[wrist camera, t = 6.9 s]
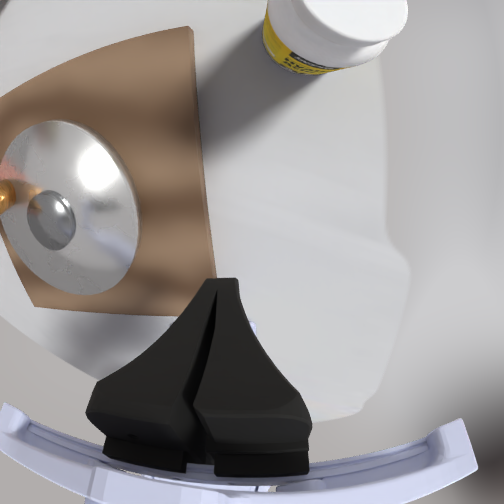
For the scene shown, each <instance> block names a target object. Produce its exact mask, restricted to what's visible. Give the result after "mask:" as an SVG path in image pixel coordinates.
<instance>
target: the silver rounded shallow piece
mask: <svg viewBox="0 0 504 504" xmlns="http://www.w3.org/2000/svg"><path fill="white" fill-rule="evenodd" d="M0 218H1V221H2V225H3V228H4V230H5V233H6V235H7V237H8V239H9V241H10V243H11V245H12V247H13V248H14V250H15V251H16V253H17V254H18V256H19V257H20V258H21V260H22V261H23V262H24V263H25V264H26V266H27V267H28V268H29V269H30V270H31V271H32V272H33V273H34V274H36V275H37V276H38V277H39V278H41V279H42V280H43V281H45V282H46V283H48V284H50V285H51V286H53V287H55V288H57V289H60V290H62V291H65V292H68V293H72V294H78V295H93V294H99V293H101V292H104V291H107V290H109V289H110V288H112V287H114V286H115V285H116V284H117V283H118V282H120V280H121V279H122V278H123V277H124V276H125V274H126V272H127V271H128V269H129V267H130V266H131V264H132V262H133V261H134V259H135V257H136V254H137V252H138V249H139V246H140V242H141V236H142V211H141V204H140V199H139V195H138V192H137V188H136V185H135V183H134V180H133V178H132V175H131V173H130V171H129V169H128V167H127V165H126V163H125V162H124V160H123V159H122V157H121V156H120V154H119V153H118V152H117V150H116V149H115V148H114V147H113V146H112V145H111V143H110V142H109V141H108V140H107V139H105V138H104V137H103V136H102V135H101V134H100V133H98V132H97V131H95V130H94V129H92V128H91V127H89V126H87V125H85V124H83V123H80V122H77V121H73V120H67V119H55V120H49V121H46V122H42V123H39V124H36V125H33V126H31V127H29V128H27V129H25V130H24V131H23V132H21V133H20V134H19V135H18V136H17V137H16V138H15V139H14V140H13V141H12V142H11V144H10V145H9V147H8V149H7V150H6V152H5V154H4V157H3V159H2V162H1V165H0Z"/></svg>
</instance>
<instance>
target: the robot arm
mask: <svg viewBox="0 0 504 504" xmlns="http://www.w3.org/2000/svg"><path fill="white" fill-rule="evenodd" d="M85 413H86V416H87V418H88V419H89V420H90V422H91V423H92V424H94V425H95V426H96V427H97V428H98V429H99V430H100V431H101V432H102V433H104V434H105V435H106V440H105V443H104V446H101V445H97V444H94V443H91V442H87V441H84V440H81V439H78V438H76V437H73V436H70V435H67V434H64V433H61V432H59V431H57V430H54V429H52V428H49V427H47V426H44V425H42V424H40V423H38V422H36V421H33V420H31V419H30V418H29V417H28V416H27V415H26V414H25V413H24V412H22V411H21V410H20V409H18V408H16V407H14V406H12V405H10V404H8V403H6V402H4V404H3V407H2V409H1V411H0V451H2V452H3V453H4V454H6V455H7V456H9V457H11V458H12V459H14V460H15V461H17V462H18V463H20V464H21V465H23V466H25V467H26V468H28V469H30V470H31V471H33V472H35V473H36V474H38V475H40V476H42V477H44V478H46V479H48V480H50V481H52V482H54V483H56V484H57V485H59V486H62V487H64V488H66V489H68V490H70V491H72V492H75V493H77V494H79V495H82V496H84V497H86V498H85V503H84V504H405V503H408V502H411V501H413V500H416V499H418V498H421V497H423V496H425V495H428V494H430V493H433V492H435V491H437V490H440V489H441V488H444V487H446V486H448V485H450V484H452V483H454V482H456V481H458V480H460V479H462V478H464V477H466V476H467V475H469V474H471V473H473V472H475V471H476V470H477V469H478V466H477V463H476V459H475V456H474V452H473V449H472V446H471V443H470V440H469V437H468V434H467V431H466V428H465V426H464V423H463V420H462V419H461V418H459V419H457V420H454V421H452V422H450V423H447V424H445V425H442V426H440V427H438V428H436V429H434V430H432V431H431V432H430V433H429V434H428V435H427V436H426V437H424V438H422V439H419V440H416V441H412V442H409V443H406V444H403V445H400V446H396V447H392V448H389V449H385V450H381V451H377V452H373V453H368V454H364V455H359V456H354V457H349V458H343V459H337V460H331V461H324V462H316V463H309V458H308V451H309V445H308V438H309V435H310V433H311V430H312V421H311V417H310V414H309V412H308V409H307V407H306V405H305V403H304V401H303V399H302V397H301V395H300V393H299V392H298V391H297V390H296V389H295V388H294V387H293V386H292V385H291V384H290V382H289V381H288V380H287V379H286V378H285V377H284V376H283V375H282V373H281V372H280V371H279V370H278V369H277V367H276V366H275V365H274V363H273V362H272V360H271V359H270V358H269V356H268V355H267V354H266V352H265V351H264V349H263V347H262V346H261V344H260V342H259V341H258V339H257V337H256V325H255V323H253V322H249V321H248V319H247V316H246V314H245V311H244V308H243V306H242V303H241V299H240V294H239V283H238V279H236V278H207V279H206V280H205V281H204V282H203V284H202V285H201V287H200V288H199V290H198V291H197V293H196V294H195V296H194V297H193V299H192V300H191V301H190V303H189V304H188V305H187V307H186V308H185V310H184V311H183V312H182V313H181V315H180V316H179V317H178V318H177V319H176V321H175V322H174V323H173V324H172V325H171V326H170V328H169V329H168V330H167V331H166V332H165V333H164V334H163V335H162V336H161V337H160V338H159V339H158V340H157V341H156V342H155V343H153V344H152V345H151V346H150V347H149V348H148V349H147V350H145V351H144V352H143V353H142V354H141V355H139V356H138V357H137V358H135V359H134V360H133V361H131V362H130V363H128V364H127V365H125V366H124V367H122V368H121V369H119V370H118V371H116V372H114V373H112V374H111V375H109V376H107V377H105V378H104V379H102V380H100V381H98V382H97V383H96V385H95V388H94V390H93V392H92V395H91V398H90V401H89V404H88V406H87V409H86V412H85ZM118 468H119V469H118ZM120 469H123V470H126V471H131V472H135V473H139V474H141V475H142V476H138V475H134V474H130V473H126V472H125V471H123V470H120ZM273 485H280V486H277V487H276V492H268V489H269V488H270V486H273Z"/></svg>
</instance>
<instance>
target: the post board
mask: <svg viewBox="0 0 504 504" xmlns="http://www.w3.org/2000/svg"><path fill="white" fill-rule="evenodd" d="M55 119H67V120H73V121H77V122H80V123H83V124H85V125H87V126H89V127H91V128H92V129H94V130H95V131H97V132H98V133H100V134H101V135H102V136H103V137H104V138H105V139H107V140H108V141H109V142H110V143H111V145H112V146H113V147H114V148H115V149H116V150H117V152H118V153H119V154H120V156H121V157H122V159H123V160H124V162H125V163H126V165H127V167H128V169H129V171H130V173H131V175H132V178H133V180H134V183H135V185H136V188H137V192H138V195H139V199H140V204H141V211H142V236H141V242H140V246H139V249H138V252H137V254H136V257H135V259H134V261H133V262H132V264H131V266H130V267H129V269H128V271H127V272H126V274H125V276H124V277H123V278H122V279H121V280H120V282H118V283H117V284H116V285H115V286H114V287H112V288H110V289H109V290H107V291H104V292H101V293H99V294H93V295H78V294H72V293H68V292H65V291H62V290H60V289H57V288H55V287H53V286H51V285H50V284H48V283H46V282H45V281H43V280H42V279H41V278H39V277H38V276H37V275H36V274H34V273H33V272H32V271H31V270H30V269H29V268H28V267H27V266H26V264H25V263H24V262H23V261H22V260H21V258H20V257H19V256H18V254H17V253H16V251H15V250H14V248H13V247H12V245H11V243H10V241H9V239H8V237H7V235H6V233H5V230H4V228H3V225H2V221H1V218H0V233H1V236H2V238H3V241H4V243H5V246H6V248H7V251H8V253H9V256H10V258H11V260H12V263H13V265H14V267H15V269H16V271H17V274H18V276H19V278H20V280H21V282H22V284H23V286H24V288H25V290H26V292H27V294H28V296H29V297H30V299H31V301H32V303H33V305H34V307H42V308H51V309H60V310H71V311H82V312H95V313H109V314H127V315H149V316H180V315H181V313H182V312H183V311H184V310H185V308H186V307H187V305H188V304H189V303H190V301H191V300H192V299H193V297H194V296H195V294H196V293H197V291H198V290H199V288H200V287H201V285H202V284H203V282H204V281H205V280H206V279H207V278H217V275H216V268H215V261H214V254H213V246H212V238H211V230H210V222H209V214H208V206H207V197H206V188H205V179H204V169H203V159H202V149H201V138H200V127H199V114H198V102H197V88H196V72H195V55H194V34H193V30H192V29H191V28H190V27H189V26H184V27H179V28H173V29H168V30H163V31H159V32H154V33H150V34H146V35H142V36H138V37H135V38H131V39H128V40H124V41H121V42H118V43H114V44H111V45H108V46H105V47H102V48H100V49H97V50H94V51H91V52H89V53H86V54H84V55H81V56H79V57H76V58H74V59H72V60H69V61H67V62H65V63H62V64H60V65H58V66H56V67H54V68H52V69H50V70H48V71H46V72H44V73H42V74H40V75H38V76H36V77H34V78H32V79H30V80H29V81H27V82H25V83H23V84H22V85H20V86H18V87H17V88H15V89H13V90H12V91H10V92H8V93H7V94H5V95H4V96H2V97H1V98H0V165H1V162H2V159H3V157H4V154H5V152H6V150H7V149H8V147H9V145H10V144H11V142H12V141H13V140H14V139H15V138H16V137H17V136H18V135H19V134H20V133H21V132H23V131H24V130H25V129H27V128H29V127H31V126H33V125H36V124H39V123H42V122H46V121H49V120H55Z"/></svg>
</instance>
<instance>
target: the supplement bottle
mask: <svg viewBox="0 0 504 504" xmlns="http://www.w3.org/2000/svg"><path fill="white" fill-rule="evenodd" d="M407 15H408V7H407V2H406V0H268V3H267V9H266V14H265V20H264V24H263V30H262V39H263V44H264V47H265V49H266V51H267V53H268V54H269V56H270V57H271V58H272V59H273V61H274V62H275V63H277V64H278V65H279V66H281V67H282V68H284V69H286V70H288V71H290V72H293V73H296V74H301V75H318V74H323V73H327V72H332V71H336V70H340V69H345V68H349V67H354V66H358V65H361V64H364V63H366V62H368V61H370V60H372V59H374V58H375V57H376V56H378V55H379V54H380V53H381V52H382V50H383V49H384V48H385V46H386V45H387V43H388V41H389V39H391V38H393V37H394V36H396V35H397V34H398V33H399V32H400V31H401V30H402V29H403V27H404V25H405V23H406V20H407Z"/></svg>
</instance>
